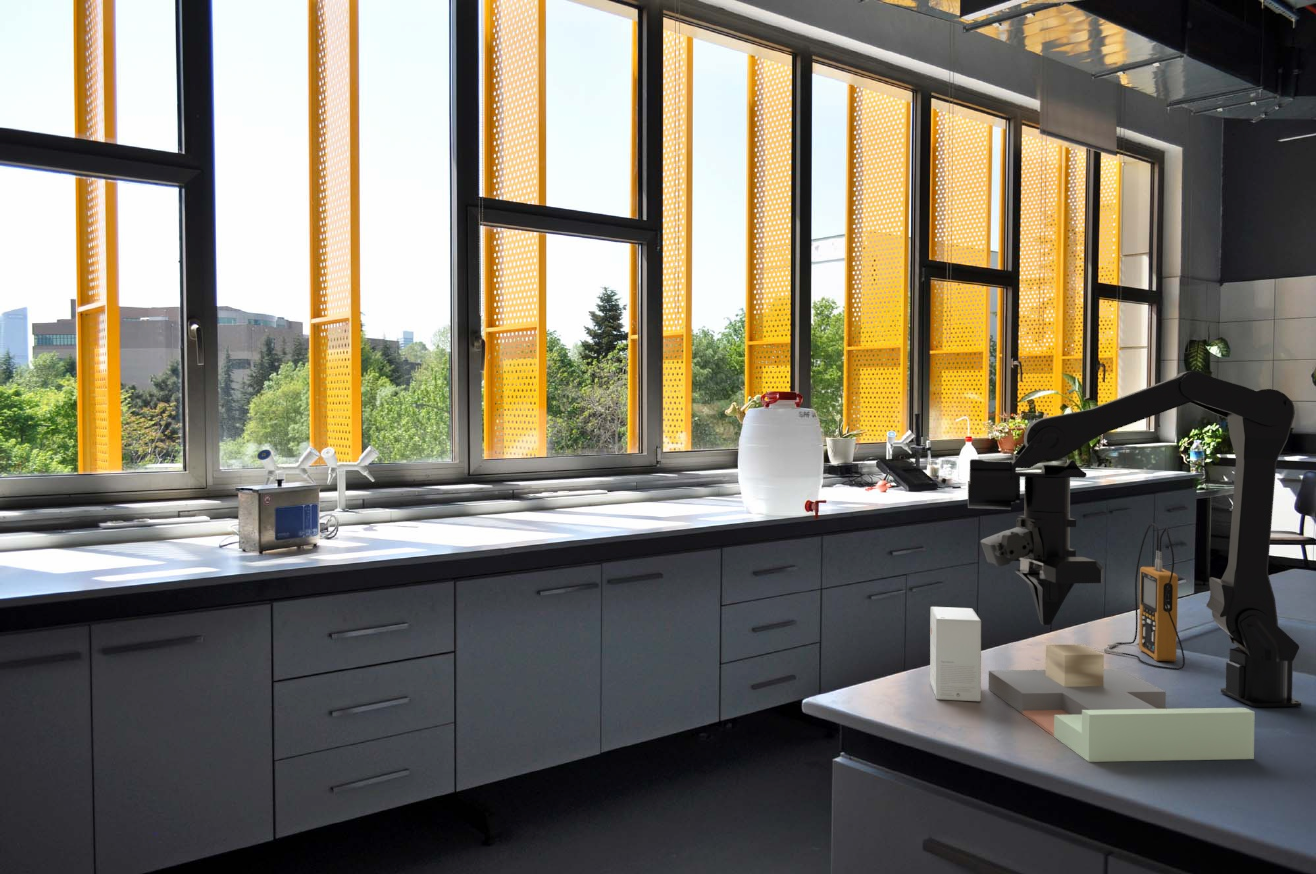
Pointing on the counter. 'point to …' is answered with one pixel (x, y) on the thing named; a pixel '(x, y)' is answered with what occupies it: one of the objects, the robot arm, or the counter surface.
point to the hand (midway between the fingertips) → (1045, 624)
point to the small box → (955, 653)
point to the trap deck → (1125, 719)
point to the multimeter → (1156, 610)
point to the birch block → (1074, 665)
